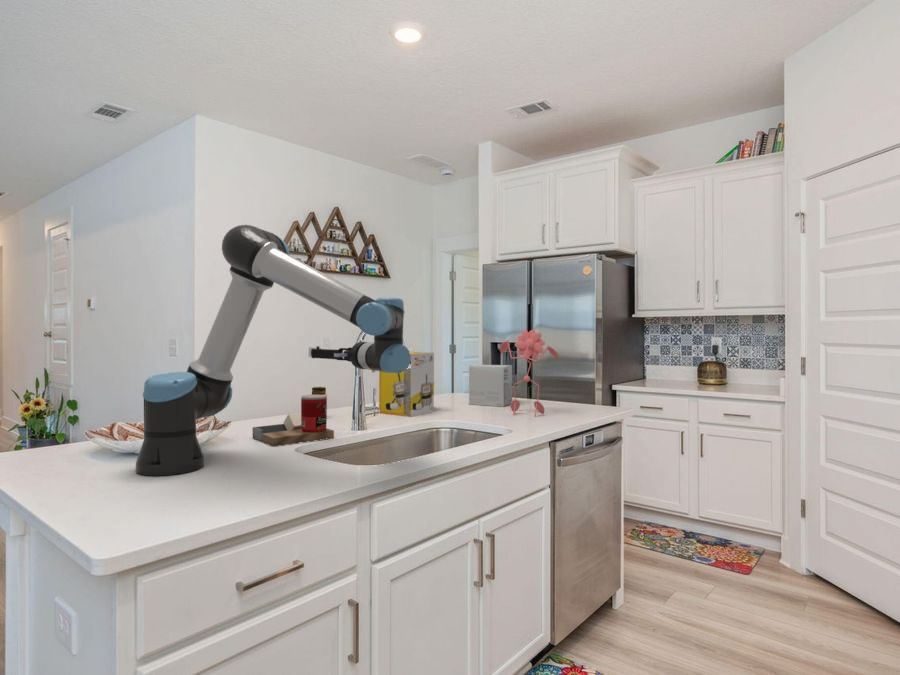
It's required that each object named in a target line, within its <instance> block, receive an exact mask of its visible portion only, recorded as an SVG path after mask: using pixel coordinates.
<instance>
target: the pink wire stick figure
mask: <svg viewBox="0 0 900 675" xmlns="http://www.w3.org/2000/svg"><path fill="white" fill-rule="evenodd" d="M541 337H542V333H541V332H540V331H539V332H536V330H535V329H531V330H529V331H528V330H527V329H523V330H522V332H521V334H518V335H517V341H516V342H514V346H515V347H516V349H518V351H517V354H518V355H519V356H516V357H515V356H514V357H513V356H512V352H511V346H510V345H511V344H510V340H505V341H503V342H502V343H501V344H500V346H499V352H500V354H503V353H505V352H507V351H508V352H509V355H510V359H511V360H515V359H525V360H526V361H527V362H528V364H529V365H528V369H527V370H528V371H527V373H526V375H524V376H523V379H521V380H520V381H518V382H516V383H514V384H512V389H513V395H514V396H513V397H514V400H512V403H511V404H510V409H511V412H512V415H513V416H514V415H515V414H516V412H517V411H518V412H523V410H521V409H519V408H520V406H521V405H520V400H518V399H517V398H516V392H515V386H516V385H517V384H520V383H522V382H523V381H524V382H526V383H529V382H532V383H534V384H535V385H536V386H538V388H537V399H536V400H535V401H534V402H533V405H534V408H535V409H534V417H535V418H536V416H537V412H539V413H540V414H541V415H544V414H545V407H544V405H543V404H542V403H541V402H540V401H539V396H540V385H539V384H538V383H536V381H535V382H534V380H532V379H531V376H529V372H530V369H531V366H532V363H531V361H533V362H536V363H538V362H539V361H540V359H541V358H542V357H543V356H544V354H545V353H546V351H548V352H549V354H550V355H552V357H554V358H555V359H557V360H560V355H559V353H558V352H557V351H556V350H555V349H554V348H553V347H552V346H550V345H547V347H546V348H545V349H544V347H543V346H544V345H545V344H546V341H544V340H543V339H542V338H541ZM539 354H540V356H539ZM520 355H521V356H520ZM538 356H539V357H538ZM531 357H532V358H531ZM535 359H536V360H535Z"/></svg>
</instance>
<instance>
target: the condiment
mask: <svg viewBox="0 0 900 675" xmlns="http://www.w3.org/2000/svg"><path fill="white" fill-rule="evenodd" d="M326 390H327V388H326V387H325V386H313V387H312V388H311V394H310V395H326V397H328V395H327V391H326Z"/></svg>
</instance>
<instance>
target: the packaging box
mask: <svg viewBox="0 0 900 675" xmlns="http://www.w3.org/2000/svg"><path fill="white" fill-rule="evenodd" d="M409 353H410V356H411V364H412V366H411V369H410V370H409V371H403V372H401V373H386V372H381V371H378V372H379V373H378V378H379V379H378V380H379V382H378V384H379V385H378V391H379V392H378V396H379V397H378V400H379V401H378V403H379V404H378V411H379V410H380V413H379V414H383V415H392V416H402V417H408V418H409V417H410V418H411V417H416V416H422V415H425V414H430V412H431V413H433V412H434V409H435V408H434V407H435V406H434V405H435V404H434V402H435V401H434V400H435V399H434V397H435V387H434V386H435V352H431V351H430V352H427V351H425V352H424V351H409Z"/></svg>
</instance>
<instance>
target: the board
mask: <svg viewBox="0 0 900 675" xmlns="http://www.w3.org/2000/svg"><path fill="white" fill-rule="evenodd" d="M334 434H335V430H333V429H330V428H327V427H326V430H325V431H323V432H313V433H311V432H303V431H302V429H296V430H287V431H279V432H271V433H263V434H261V441H260V443H263V442H264V444H265V443H266V444H265V445H268V444H269V445H268V446H270V445H271V446H270V447H273V446H274V447H280V446H279V445H281V446H286V445H285V444H289V445H294V444H293V443H296V444H300V443H299V442H303V443H308V442H307V441H310V442H315V441H314V440H318V441H321V440H320V439H325V440H327V439H326V438H332V439H335V435H334Z"/></svg>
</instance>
